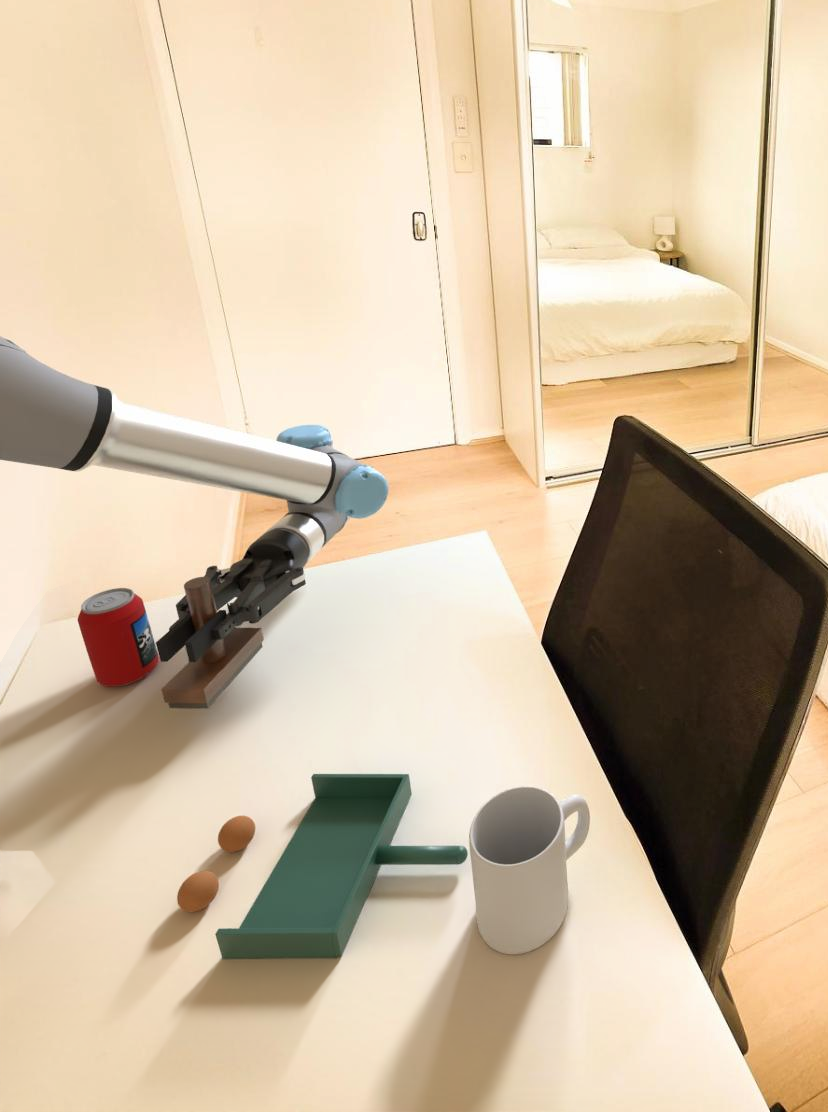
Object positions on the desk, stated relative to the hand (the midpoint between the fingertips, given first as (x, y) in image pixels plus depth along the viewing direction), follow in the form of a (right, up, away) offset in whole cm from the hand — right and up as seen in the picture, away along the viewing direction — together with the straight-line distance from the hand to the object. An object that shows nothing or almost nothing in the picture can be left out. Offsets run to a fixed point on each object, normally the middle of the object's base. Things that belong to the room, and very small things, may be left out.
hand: (176, 652), depth 81 cm
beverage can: (-17, -8, +13) cm, 23 cm away
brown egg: (+14, -17, -16) cm, 27 cm away
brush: (0, -6, +8) cm, 10 cm away
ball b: (+14, -15, -10) cm, 23 cm away
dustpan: (+29, -18, -12) cm, 36 cm away
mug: (+46, -19, -14) cm, 52 cm away
